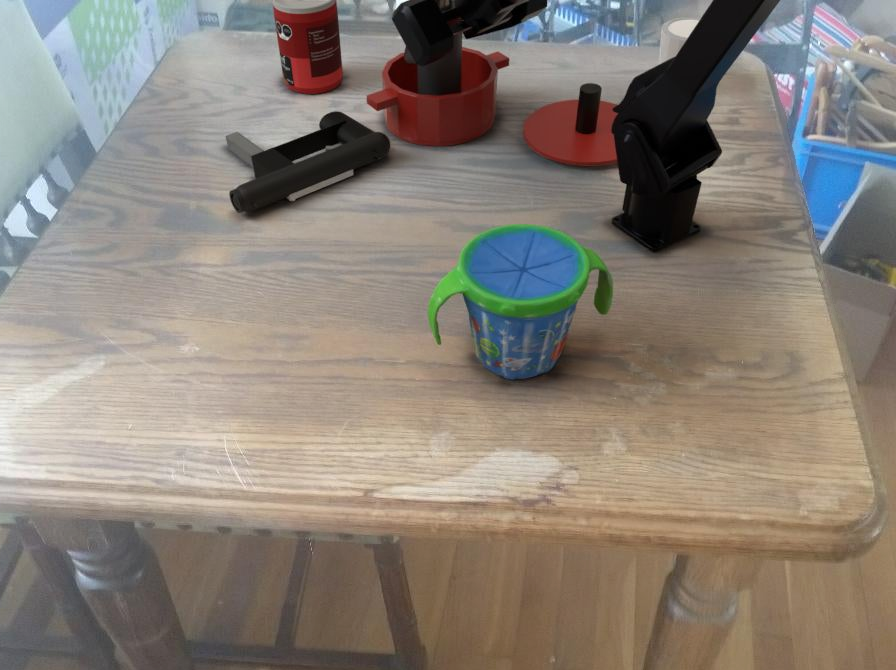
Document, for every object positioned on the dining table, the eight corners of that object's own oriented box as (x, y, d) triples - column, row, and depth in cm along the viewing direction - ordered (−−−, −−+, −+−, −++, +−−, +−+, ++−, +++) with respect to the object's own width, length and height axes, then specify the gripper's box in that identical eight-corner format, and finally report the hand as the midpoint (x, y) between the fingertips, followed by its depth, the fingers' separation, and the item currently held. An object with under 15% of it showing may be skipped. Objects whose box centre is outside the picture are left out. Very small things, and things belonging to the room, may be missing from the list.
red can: (290, 68, 117) (279, -17, 109) (348, 68, 116) (340, -17, 108) (277, 94, 112) (265, 8, 104) (338, 95, 111) (329, 8, 103)
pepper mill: (453, 127, 103) (454, 3, 93) (412, 121, 105) (408, -2, 94) (466, 107, 106) (469, -16, 96) (426, 101, 108) (425, -20, 97)
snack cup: (436, 405, 73) (436, 312, 65) (421, 323, 80) (419, 232, 72) (619, 386, 73) (639, 292, 66) (588, 306, 80) (602, 214, 73)
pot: (534, 116, 105) (538, 68, 101) (404, 165, 99) (402, 116, 94) (470, 76, 113) (471, 30, 109) (346, 118, 107) (342, 72, 103)
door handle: (178, 146, 100) (243, 199, 90) (325, 92, 107) (399, 136, 97) (185, 172, 102) (249, 227, 92) (328, 118, 109) (402, 163, 99)
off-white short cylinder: (665, 67, 112) (675, 12, 107) (716, 79, 109) (730, 23, 104) (642, 88, 108) (652, 32, 103) (695, 102, 105) (708, 45, 100)
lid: (674, 144, 99) (685, 93, 95) (576, 185, 94) (583, 133, 90) (591, 96, 108) (597, 47, 103) (497, 131, 103) (500, 82, 99)
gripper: (536, -128, 89) (460, -40, 103) (399, -81, 81) (338, 8, 95) (587, -28, 90) (505, 45, 104) (457, 28, 82) (388, 99, 96)
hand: (436, 47), depth 100 cm, fingers open, 9 cm apart
